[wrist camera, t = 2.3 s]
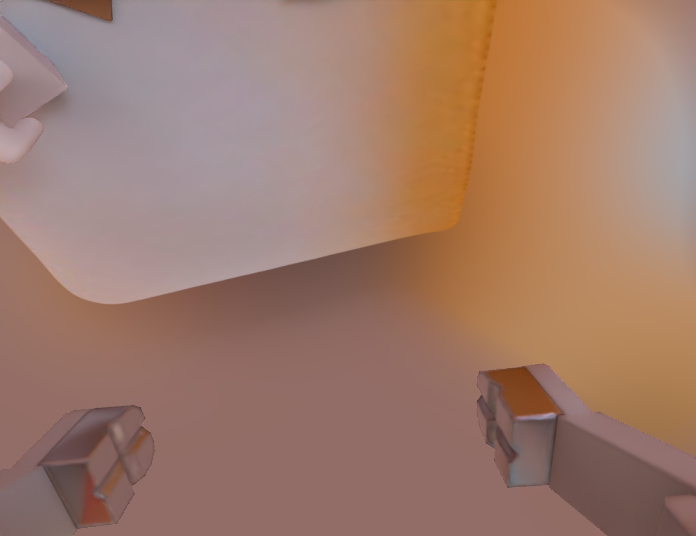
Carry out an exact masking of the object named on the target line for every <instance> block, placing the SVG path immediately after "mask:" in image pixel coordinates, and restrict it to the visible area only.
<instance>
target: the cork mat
mask: <svg viewBox="0 0 696 536" xmlns="http://www.w3.org/2000/svg"><path fill="white" fill-rule="evenodd" d="M49 1H52V2H55V3H58V4H61V5H63V6H66V7H69V8H72V9H75V10H78V11H81V12H84V13H87V14H90V15H93V16H96V17H99V18H102V19H105V20H108V21H112V20H113V18H112V1H111V0H49Z"/></svg>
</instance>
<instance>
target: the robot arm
mask: <svg viewBox="0 0 696 536" xmlns="http://www.w3.org/2000/svg"><path fill="white" fill-rule="evenodd" d="M477 378H478V379H477V386H478V388H479V390H480V392H481V393H482V395H481V396H480V398H479V399H478V400H477V417H478V422H479V426H480V429H481V432H482V435H483V437H484V439H485V441H486V443H487V444H488V445H490V446H491V447H493V448H494V449H495V457H494V461H495V462H496V465H497V466H498V468H499V470H500V473H501V475H502V477H503V479H504V481H505V483H506V485H507V487H508V488H509V487H525V486H541V485H549V488H551V489H552V490H553V491H554V492H555V493H557V494H558V495H559V496H560V497H562V498H563V499H564V500H565V501H566V502H568V503H569V504H570V505H571V506H572V507H574V508H575V509H576V510H577V511H578V512H580V513H581V514H582V515H583V516H585V517H586V518H587V519H588V520H589V521H590V522H592V523H593V524H594V525H595V526H597V527H598V528H599V529H600V530H601V531H603V532H604V533H605V534H606V535H608V536H696V457H694V456H692V455H689V454H688V453H686V452H683V451H681V450H679V449H677V448H675V447H673V446H671V445H668V444H666V443H664V442H662V441H660V440H658V439H656V438H654V437H651V436H649V435H647V434H645V433H643V432H641V431H639V430H637V429H634V428H632V427H630V426H628V425H626V424H624V423H622V422H619V421H617V420H615V419H613V418H611V417H609V416H607V415H605V414H602V413H600V412H593V413H592V412H591V411H590V410H589V409H588V408H587V407H586V406H585V405H584V403H583V402H582V401H581V400H580V399H579V398H578V397H577V396H576V395H575V394H574V393H573V392H572V391H571V389H570V388H569V387H568V386H567V385H566V384H565V383H564V382H563V381H562V380H561V379H560V378H559V377H558V375H556V373H555V372H554V371H553V370H552V369H551V368H550V367H549V366H548V365H546V364H536V365H529V366H522V367H517V368H507V369H498V370H488V371H479V374H478V377H477ZM144 420H145V416H144V414H143V412H142V410H141V408H140V407H138V406H135V405H130V406H117V407H104V408H94V409H81V410H73V411H71V412H69V413H66V414H65V415H64V416H63V417H62V418H61V419H60V420H59V421H58V422H57V423H56V424H55V425H54V426H53V427H52V428H51V429H50V430H49V431H48V432H47V433H46V434H45V435H44V436H43V437H42V438H41V439H40V440H38V441H37V443H35V444H34V445H33V446H32V447H31V448H30V449H29V450H28V451H27V452H26V453H25V454H24V455H23V456H22V457H21V458H20V459H19V460H18V461H17V462H16V463H15V464H14V465H13V466H12V467H11V468H10V469H3V470H1V471H0V536H72V535H74V534H75V533H76V532H77V529H79V528H87V527H95V526H102V525H111V524H117V523H118V521H119V520H120V518H121V516H122V515H123V513H124V511H125V509H126V508H127V506H128V504H129V503H130V501H131V499H132V497H133V496H134V489H133V485H134V484H136V483H137V482H138V481H139V480H140V479H142V478H143V477H144V476H145V475H146V473H147V471H148V470H149V468H150V466H151V464H152V460H153V455H154V451H155V450H154V440H153V437H152V435H151V433H150V432H149V431H148V430H146V429H145V428H144V427H142V424H143V422H144Z"/></svg>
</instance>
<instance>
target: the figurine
mask: <svg viewBox="0 0 696 536" xmlns="http://www.w3.org/2000/svg"><path fill="white" fill-rule="evenodd" d="M66 89H68V87H67V85H66V84H65V82H64V80H63V79H62V77H61V76H60V74H59V72H58V71H57V69H56V67H55V66H54V64H53V63H52V62H51V61H50V60H48V59H47V58H46V57H45V56H44V55H43V54H42V53H41V52H40V51H39V50H38V49H37V48H36V47H35V46H33V45H32V44H31V43H30V42H29V41H28V40H27V39H26V38H25V37H24V36H23V35H22V34H21V33H20V32H18V31H17V30H16V29H15V28H14V27H13V26H12V25H11V24H10V23H9V22H8V21H7V20H6V19H5V18H3V17H2V16H1V15H0V120H2V121H3V122H4V123H6V124H7V125H8V126H10V127H11V126H13V125H14V124H15V125H14V126H13V127H12V128H10V127H8V126H7V125H5V124H4V123H2V122H1V121H0V162H1V163H4V164H13V163H16V162H18V161H20V160H21V159H22V158H24V157H25V156H26V155H27V153H28V152H29V151H30V150H31V148H32V147H33V145H34V144H35V143H36V141H37V140H38V138H39V137H40V135H41V134H42V132H43V126H42V124H41V122H39V121H38V120H37V119H35V118H30V117H27V118H25V117H26V116H28V115H29V114H31V113H32V112H34V111H35V110H37V109H38V108H40V107H41V106H43V105H44V104H46V103H47V102H48V101H50V100H51V99H53V98H54V97H56V96H57V95H59V94H60V93H62V92H63V91H65V90H66Z"/></svg>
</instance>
